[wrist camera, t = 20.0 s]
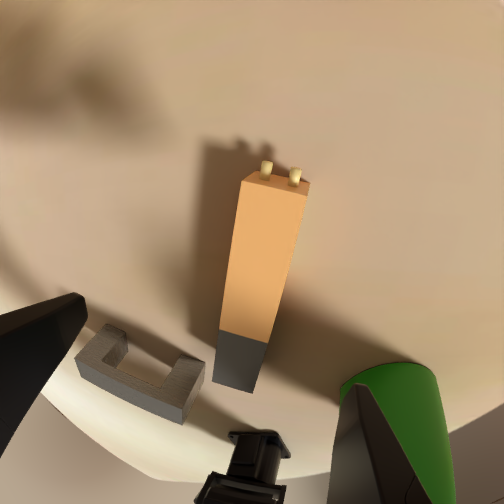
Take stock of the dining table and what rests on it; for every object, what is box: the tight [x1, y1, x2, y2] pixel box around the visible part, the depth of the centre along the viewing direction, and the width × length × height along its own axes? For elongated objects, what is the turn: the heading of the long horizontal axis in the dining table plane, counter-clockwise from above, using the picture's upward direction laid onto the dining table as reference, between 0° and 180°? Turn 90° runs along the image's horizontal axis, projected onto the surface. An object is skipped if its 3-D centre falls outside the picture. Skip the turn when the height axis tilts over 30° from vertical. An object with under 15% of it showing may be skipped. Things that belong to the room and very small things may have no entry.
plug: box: [212, 160, 310, 394], centre depth 19 cm, size 17×3×3 cm, turn 170°
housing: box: [74, 324, 205, 425], centre depth 25 cm, size 3×11×6 cm, turn 80°
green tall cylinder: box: [339, 363, 456, 504], centre depth 14 cm, size 10×9×20 cm
